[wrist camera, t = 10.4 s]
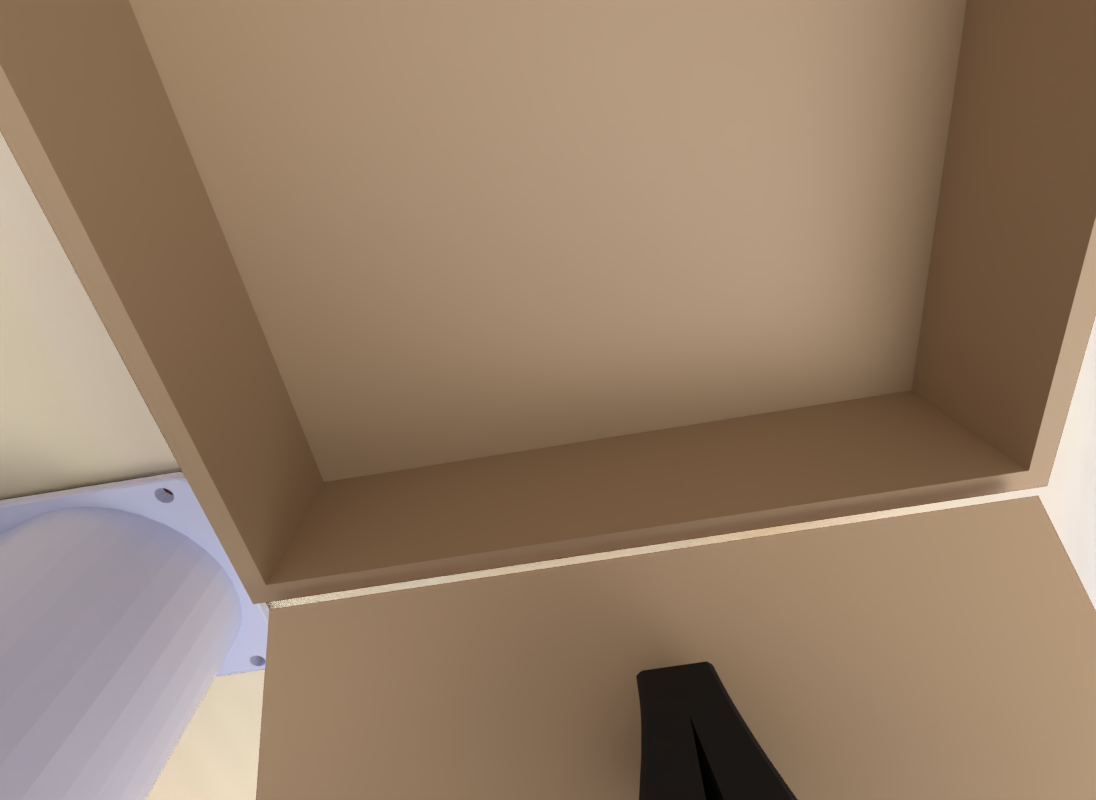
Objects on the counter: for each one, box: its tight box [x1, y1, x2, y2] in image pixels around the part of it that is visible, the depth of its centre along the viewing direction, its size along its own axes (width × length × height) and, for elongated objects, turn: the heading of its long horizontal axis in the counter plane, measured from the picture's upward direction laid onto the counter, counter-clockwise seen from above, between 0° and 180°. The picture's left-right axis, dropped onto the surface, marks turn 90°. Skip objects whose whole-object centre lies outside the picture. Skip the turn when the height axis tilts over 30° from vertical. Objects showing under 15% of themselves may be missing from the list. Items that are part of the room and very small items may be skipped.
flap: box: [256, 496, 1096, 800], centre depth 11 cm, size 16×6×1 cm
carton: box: [0, 0, 1096, 604], centre depth 11 cm, size 18×17×4 cm
